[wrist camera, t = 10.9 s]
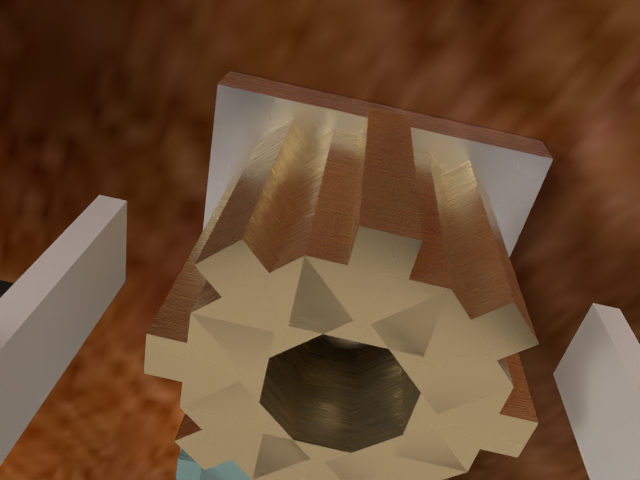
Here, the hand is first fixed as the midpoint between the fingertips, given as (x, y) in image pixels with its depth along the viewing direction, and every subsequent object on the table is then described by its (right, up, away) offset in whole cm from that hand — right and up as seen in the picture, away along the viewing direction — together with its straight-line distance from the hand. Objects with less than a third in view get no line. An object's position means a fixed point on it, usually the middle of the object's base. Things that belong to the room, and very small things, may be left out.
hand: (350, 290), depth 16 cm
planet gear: (0, +2, +3) cm, 3 cm away
